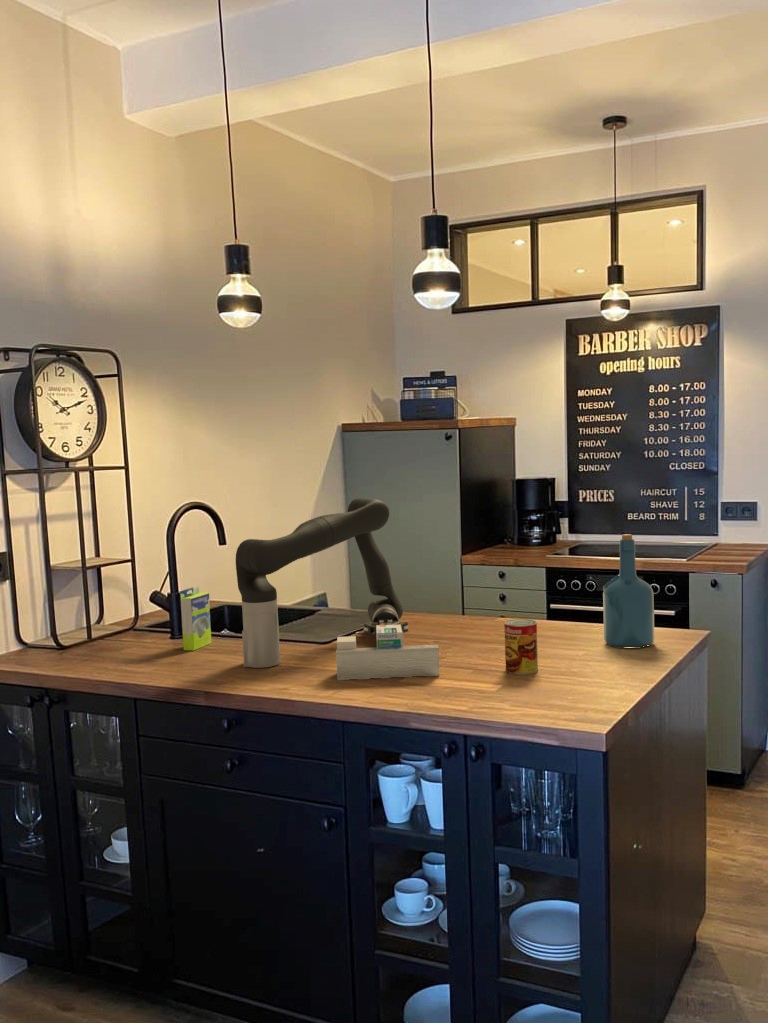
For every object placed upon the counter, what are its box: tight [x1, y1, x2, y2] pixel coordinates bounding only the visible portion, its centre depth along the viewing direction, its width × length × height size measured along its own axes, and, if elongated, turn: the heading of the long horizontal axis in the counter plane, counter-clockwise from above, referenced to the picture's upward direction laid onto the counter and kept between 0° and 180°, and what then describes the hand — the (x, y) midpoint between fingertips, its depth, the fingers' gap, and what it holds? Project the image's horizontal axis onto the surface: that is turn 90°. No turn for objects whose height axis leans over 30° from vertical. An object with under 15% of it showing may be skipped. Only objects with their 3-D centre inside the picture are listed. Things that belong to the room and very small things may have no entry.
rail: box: [335, 644, 440, 681], centre depth 224 cm, size 25×9×7 cm, turn 91°
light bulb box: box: [375, 625, 405, 647], centre depth 228 cm, size 11×7×11 cm, turn 1°
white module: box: [336, 635, 357, 649], centre depth 226 cm, size 5×6×9 cm
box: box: [179, 585, 212, 651], centre depth 265 cm, size 10×4×17 cm, turn 161°
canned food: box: [504, 618, 539, 675], centre depth 223 cm, size 8×8×12 cm
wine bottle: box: [602, 533, 655, 648], centre depth 246 cm, size 14×13×30 cm
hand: (386, 634), depth 243 cm, fingers closed
